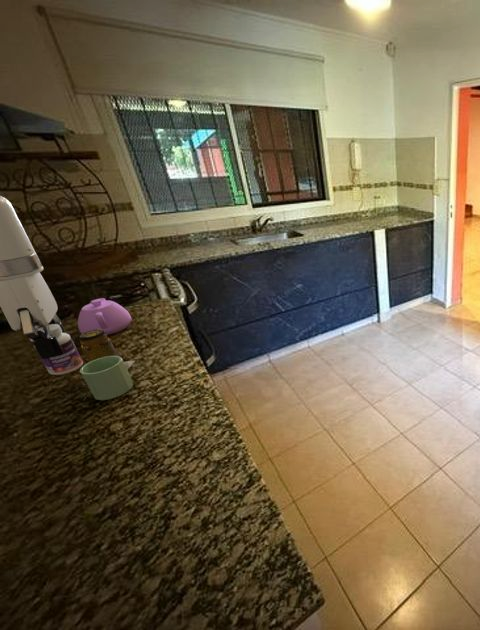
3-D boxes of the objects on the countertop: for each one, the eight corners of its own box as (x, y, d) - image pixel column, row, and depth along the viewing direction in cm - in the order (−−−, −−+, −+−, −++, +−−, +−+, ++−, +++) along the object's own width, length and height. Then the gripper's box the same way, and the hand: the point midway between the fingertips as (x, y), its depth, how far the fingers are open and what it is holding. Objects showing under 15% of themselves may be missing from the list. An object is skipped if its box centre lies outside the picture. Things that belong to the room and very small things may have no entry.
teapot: (132, 312, 130) (121, 286, 125) (134, 332, 116) (122, 303, 111) (83, 322, 122) (70, 295, 118) (80, 345, 108) (64, 315, 104)
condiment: (102, 364, 99) (84, 328, 94) (135, 360, 101) (119, 325, 96) (87, 380, 93) (66, 342, 87) (123, 375, 95) (105, 337, 89)
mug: (91, 404, 84) (77, 378, 80) (95, 387, 90) (82, 362, 86) (132, 392, 88) (120, 366, 84) (133, 376, 94) (122, 352, 90)
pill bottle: (59, 378, 70) (36, 337, 66) (43, 372, 72) (19, 332, 67) (89, 364, 75) (70, 324, 70) (74, 359, 76) (54, 320, 72)
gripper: (-2, 257, 67) (42, 337, 75) (-40, 284, 55) (18, 376, 63) (50, 252, 71) (87, 328, 79) (26, 275, 59) (73, 363, 67)
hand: (56, 348), depth 71 cm, fingers closed on pill bottle, 5 cm apart
